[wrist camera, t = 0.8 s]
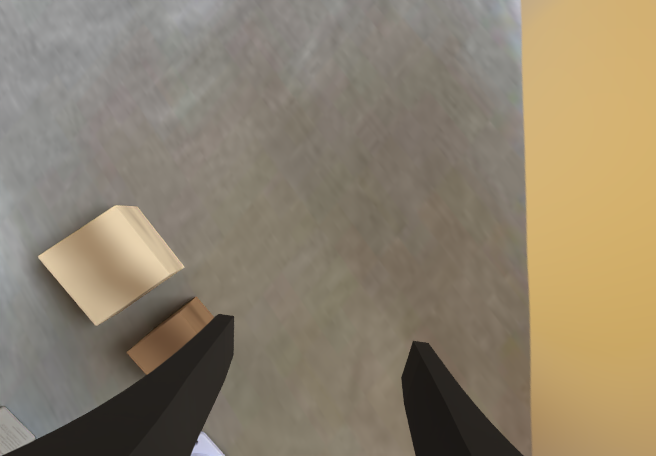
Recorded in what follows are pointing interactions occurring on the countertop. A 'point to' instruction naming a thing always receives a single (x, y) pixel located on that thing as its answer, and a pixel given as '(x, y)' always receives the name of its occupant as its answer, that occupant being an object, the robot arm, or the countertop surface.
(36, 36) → the countertop surface
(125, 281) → the maple block
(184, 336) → the walnut cube
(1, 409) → the skincare box
